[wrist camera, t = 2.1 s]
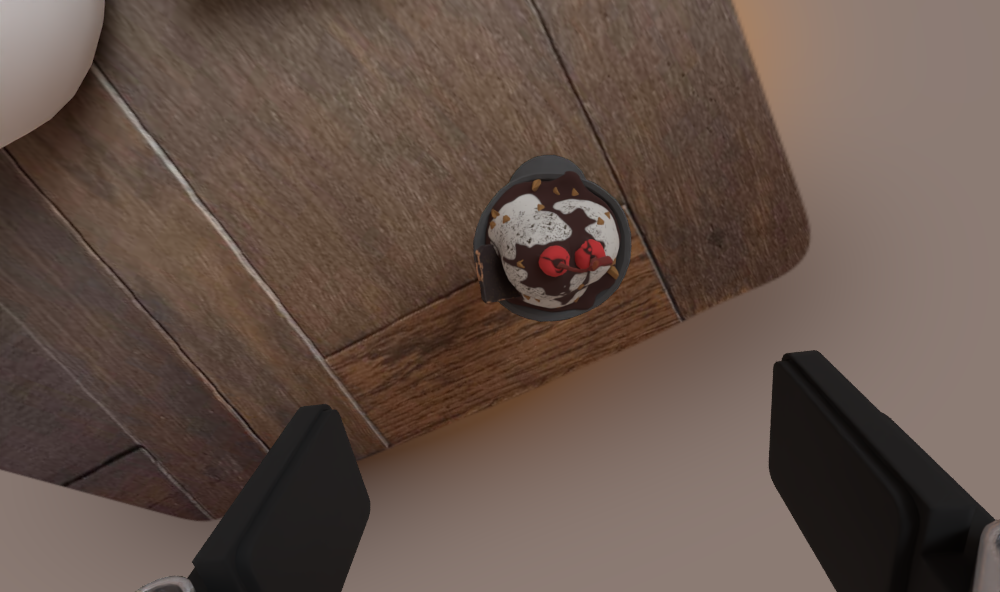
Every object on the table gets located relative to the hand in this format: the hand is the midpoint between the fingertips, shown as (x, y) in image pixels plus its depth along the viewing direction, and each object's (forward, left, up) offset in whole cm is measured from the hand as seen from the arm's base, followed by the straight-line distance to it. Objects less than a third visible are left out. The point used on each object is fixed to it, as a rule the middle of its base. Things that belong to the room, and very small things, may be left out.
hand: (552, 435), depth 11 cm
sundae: (0, 0, -22) cm, 22 cm away
